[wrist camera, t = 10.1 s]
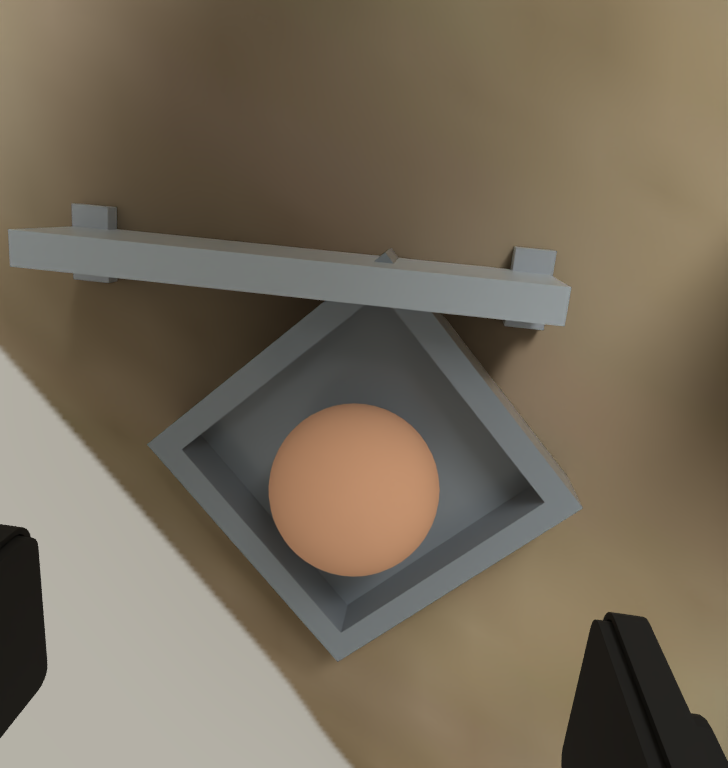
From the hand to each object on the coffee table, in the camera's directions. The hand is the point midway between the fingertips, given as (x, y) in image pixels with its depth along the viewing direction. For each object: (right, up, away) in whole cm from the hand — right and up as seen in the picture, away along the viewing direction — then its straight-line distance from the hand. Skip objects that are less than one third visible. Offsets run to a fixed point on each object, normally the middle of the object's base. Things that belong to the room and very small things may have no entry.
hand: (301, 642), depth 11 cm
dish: (+1, +2, +12) cm, 12 cm away
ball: (+1, +1, +8) cm, 9 cm away
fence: (-1, +8, +10) cm, 13 cm away
